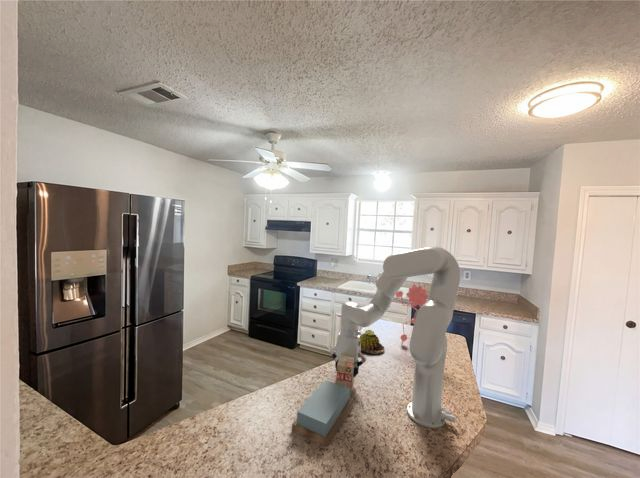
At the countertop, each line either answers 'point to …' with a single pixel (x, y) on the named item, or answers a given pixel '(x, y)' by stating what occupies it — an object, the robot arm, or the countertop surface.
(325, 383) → the tower top slab
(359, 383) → the countertop surface
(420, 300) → the pink flower arrangement
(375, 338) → the cactus
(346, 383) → the stack of blocks
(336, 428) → the tower base slab
